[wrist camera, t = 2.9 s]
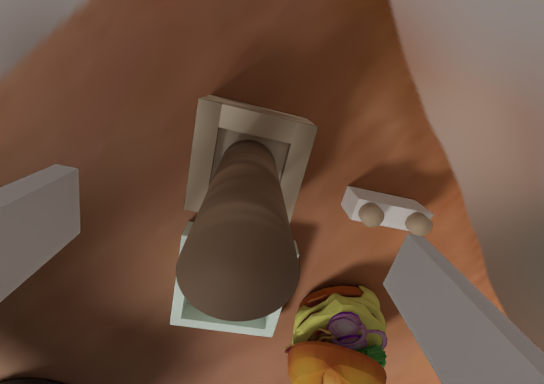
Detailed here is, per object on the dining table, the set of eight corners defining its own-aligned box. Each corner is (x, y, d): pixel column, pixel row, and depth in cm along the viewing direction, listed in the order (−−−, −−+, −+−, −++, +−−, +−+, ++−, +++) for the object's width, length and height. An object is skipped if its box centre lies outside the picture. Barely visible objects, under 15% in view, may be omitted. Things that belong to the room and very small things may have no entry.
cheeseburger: (399, 308, 31) (432, 414, 23) (326, 337, 36) (332, 433, 28) (345, 260, 28) (361, 362, 20) (273, 299, 33) (261, 394, 25)
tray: (176, 305, 30) (169, 324, 27) (188, 221, 26) (181, 235, 23) (270, 318, 31) (272, 337, 29) (295, 240, 27) (299, 255, 25)
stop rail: (340, 204, 26) (354, 225, 22) (347, 185, 25) (363, 203, 22) (406, 218, 27) (430, 239, 23) (415, 200, 26) (441, 219, 23)
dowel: (216, 186, 20) (169, 313, 9) (225, 134, 19) (183, 210, 8) (268, 196, 21) (282, 327, 10) (281, 146, 20) (314, 234, 8)
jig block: (196, 186, 25) (183, 209, 20) (210, 94, 22) (198, 98, 17) (282, 203, 26) (288, 228, 21) (306, 118, 23) (318, 127, 18)
